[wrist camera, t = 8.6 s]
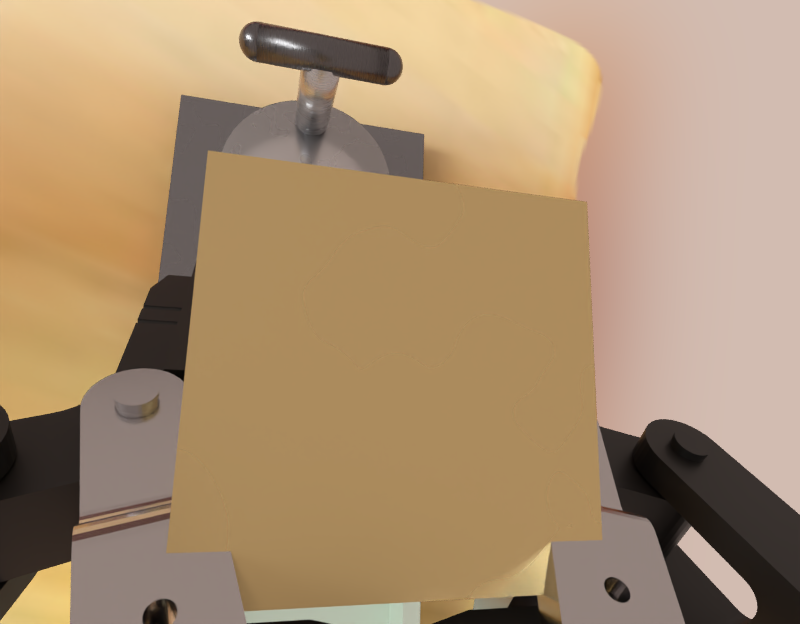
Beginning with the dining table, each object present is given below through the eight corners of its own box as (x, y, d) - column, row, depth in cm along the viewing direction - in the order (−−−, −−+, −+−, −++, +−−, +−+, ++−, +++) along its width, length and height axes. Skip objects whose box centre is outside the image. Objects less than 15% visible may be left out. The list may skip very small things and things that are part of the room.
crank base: (143, 454, 26) (74, 477, 16) (185, 110, 29) (148, -42, 20) (408, 458, 29) (483, 480, 19) (416, 146, 32) (484, 31, 23)
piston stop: (227, 481, 14) (159, 616, 5) (241, 321, 15) (207, 151, 5) (385, 481, 15) (604, 591, 6) (390, 331, 16) (587, 202, 6)
